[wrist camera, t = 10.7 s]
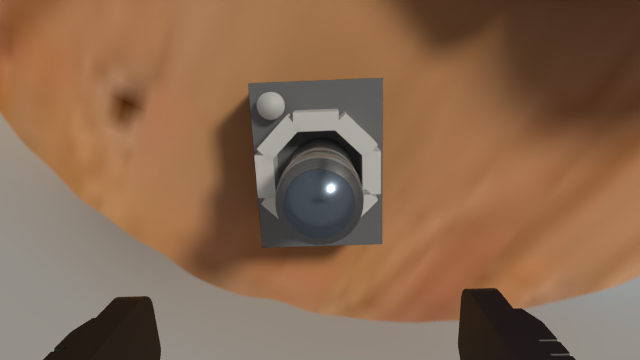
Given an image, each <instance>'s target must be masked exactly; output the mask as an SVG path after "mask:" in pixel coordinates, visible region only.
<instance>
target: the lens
mask: <svg viewBox="0 0 640 360" xmlns="http://www.w3.org/2000/svg"><path fill="white" fill-rule="evenodd" d="M363 203H364V194H363V188H362V185H361V182H360V179H359V177H358V175H357V173H356V171H355V169H354V167H353V164H352V161H351V158H350V155H349V154H348V152H347V150H346V149H345V148H344V147H343V146H342V145H341V144H340V143H338V142H336V141H334V140H332V139H329V138H314V139H310V140H308V141H306V142H304V143H303V144H301V145H300V146H299V147H298V148H297V150H296V151H295V152H294V154H293V156H292V158H291V161H290V163H289V165H288V166H287V168H286V169H285V171H284V172H283V174H282V176H281V178H280V180H279V183H278V185H277V189H276V195H275V206H276V212H277V216H278V218H279V220H280V222H281V224H282V226H283V227H284V228H285V230H286V231H287V232H288V233H289V234H291V235H292V236H293V237H295V238H296V239H298V240H300V241H303V242H305V243H309V244H314V245H325V244H330V243H334V242H337V241H339V240H341V239H343V238H344V237H346V236H347V235H348V234H350V233H351V232H352V231H353V230H354V228H355V227H356V226H357V224H358V222H359V220H360V218H361V215H362V211H363Z"/></svg>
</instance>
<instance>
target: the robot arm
mask: <svg viewBox="0 0 640 360" xmlns="http://www.w3.org/2000/svg"><path fill="white" fill-rule="evenodd" d="M458 348H459V354H460V360H575V358H574V357H573V356H570V355H569V352H568V351H567V349H566V348H565V347H564V346H563V345H562V344H561V343H560V342H558V341H557V338H556V337H555V336H554V335H553V334H552V333H551V331H550V330H549V329H548V328H547V327H546V326H545V324H544V323H543V322H542V321H540V320H538V319H537V318H535V317H534V316H532V315H531V314H529V313H528V312H526V311H525V310H523V309H522V308H521V309H513V308H512V306H511V305H510V304H509V303H508V301H507V300H506V299H505V298H504V297H503V295H502V294H501V293H500V292H499V291H498V290H497V289H496V288H483V289H464V290H463V292H462V296H461V308H460V322H459V336H458ZM160 353H161V347H160V341H159V336H158V330H157V325H156V319H155V314H154V309H153V304H152V301H151V299H150V298H149V297H146V296H142V297H117V298H115V299H114V300H113V301H112V302H111V303H110V304H109V305H108V306H107V307H106V308H105V309H104V310H103V311H102V312H101V313H100V314H99V315H98V316H97V317H96V318H92V319H91V320H89V321H88V322H86V323H84V324H83V325H81V326H80V327H78V328H76V329H75V330H73V331H72V332H70V334H68V335H67V336H66V337H65V338H64V339H63V340H62V341H61V342H60V344H58V345H57V346H56V347H55V350H54V352H50V354H48V356H46V357H45V358H44V359H43V360H160V355H161V354H160Z"/></svg>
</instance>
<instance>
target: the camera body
mask: <svg viewBox="0 0 640 360" xmlns="http://www.w3.org/2000/svg"><path fill="white" fill-rule="evenodd" d="M248 88H249V99H250V111H251V122H252V133H253V145H254V158H255V169H256V181H257V192H258V202H259V213H260V225H261V236H262V248H268V247H301V246H335V245H368V244H382V152H383V78H368V79H344V80H320V81H296V82H272V83H248ZM314 138H329V139H332V140H334V141H336V142H338V143H340V144H341V145H342V146H343V147H344V148H345V149H346V150H347V152H348V154H349V155H350V158H351V161H352V164H353V167H354V169H355V171H356V173H357V175H358V177H359V179H360V182H361V185H362V188H363V194H364V203H363V211H362V215H361V218H360V220H359V222H358V224H357V226H356V227H355V228H354V230H353V231H352V232H351V233H350V234H348V235H347V236H346V237H344V238H343V239H341V240H339V241H337V242H334V243H330V244H325V245H314V244H309V243H305V242H303V241H300V240H298V239H296V238H295V237H293V236H292V235H291V234H289V233H288V232H287V231H286V230H285V228H284V227H283V226H282V224H281V222H280V220H279V218H278V216H277V212H276V206H275V195H276V189H277V185H278V183H279V180H280V178H281V176H282V174H283V172H284V171H285V169H286V168H287V166H288V165H289V163H290V161H291V158H292V156H293V154H294V152H295V151H296V150H297V148H298V147H299V146H300V145H301V144H303V143H304V142H306V141H308V140H310V139H314Z"/></svg>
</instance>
